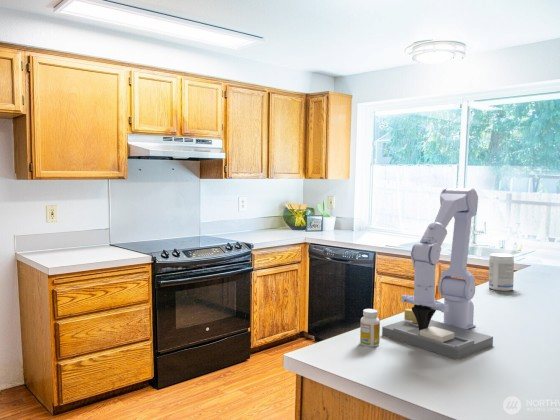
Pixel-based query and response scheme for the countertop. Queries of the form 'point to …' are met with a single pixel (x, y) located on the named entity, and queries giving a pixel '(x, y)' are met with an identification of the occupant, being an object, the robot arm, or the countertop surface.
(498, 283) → the supplement tub
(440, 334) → the cover
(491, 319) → the countertop surface
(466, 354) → the grey slotted tray
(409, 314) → the gold metal block
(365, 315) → the supplement bottle
